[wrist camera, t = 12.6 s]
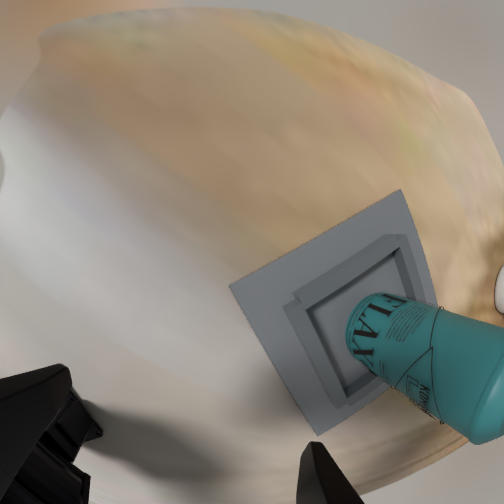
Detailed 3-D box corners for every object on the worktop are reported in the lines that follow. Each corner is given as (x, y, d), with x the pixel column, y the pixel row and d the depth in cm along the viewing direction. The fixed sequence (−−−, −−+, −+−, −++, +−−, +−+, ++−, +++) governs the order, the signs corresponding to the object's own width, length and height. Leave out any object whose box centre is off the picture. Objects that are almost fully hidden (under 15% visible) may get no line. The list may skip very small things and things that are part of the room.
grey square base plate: (315, 433, 23) (323, 444, 21) (228, 285, 21) (231, 289, 19) (441, 336, 25) (452, 341, 23) (397, 189, 23) (410, 186, 21)
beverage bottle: (365, 271, 22) (600, 318, 3) (403, 313, 23) (585, 376, 4) (318, 333, 22) (526, 482, 2) (363, 368, 23) (526, 484, 3)
